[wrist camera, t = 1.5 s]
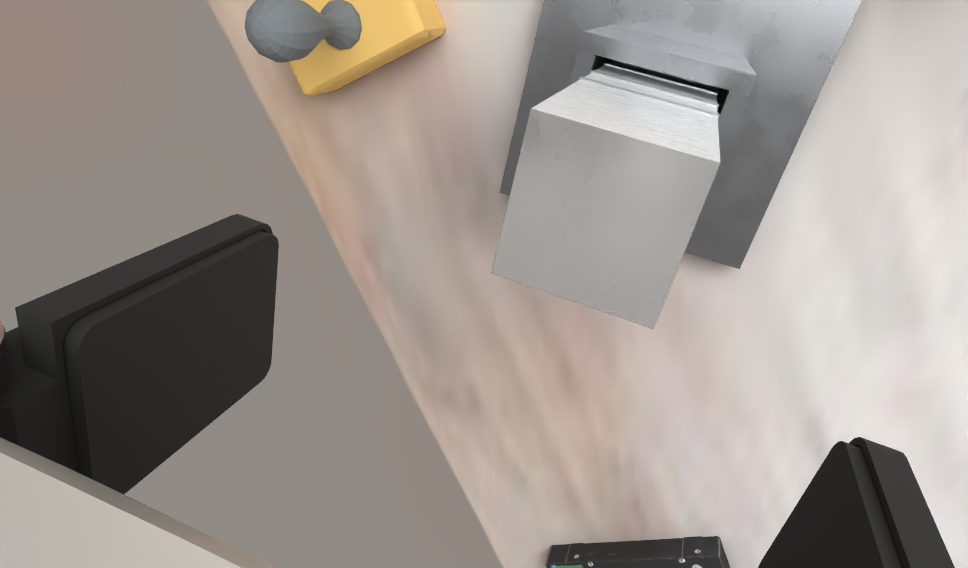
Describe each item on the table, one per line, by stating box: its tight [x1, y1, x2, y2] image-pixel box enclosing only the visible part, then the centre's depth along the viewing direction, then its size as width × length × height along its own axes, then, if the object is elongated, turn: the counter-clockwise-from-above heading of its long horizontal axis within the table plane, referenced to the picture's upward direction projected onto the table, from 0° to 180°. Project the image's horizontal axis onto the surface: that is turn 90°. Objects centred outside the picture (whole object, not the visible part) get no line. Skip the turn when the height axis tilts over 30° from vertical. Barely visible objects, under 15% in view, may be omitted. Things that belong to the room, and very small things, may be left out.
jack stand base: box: [500, 0, 862, 269], centre depth 33 cm, size 16×16×12 cm
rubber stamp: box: [245, 0, 446, 96], centre depth 37 cm, size 10×6×12 cm, turn 114°
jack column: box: [491, 59, 720, 329], centre depth 27 cm, size 5×5×22 cm
